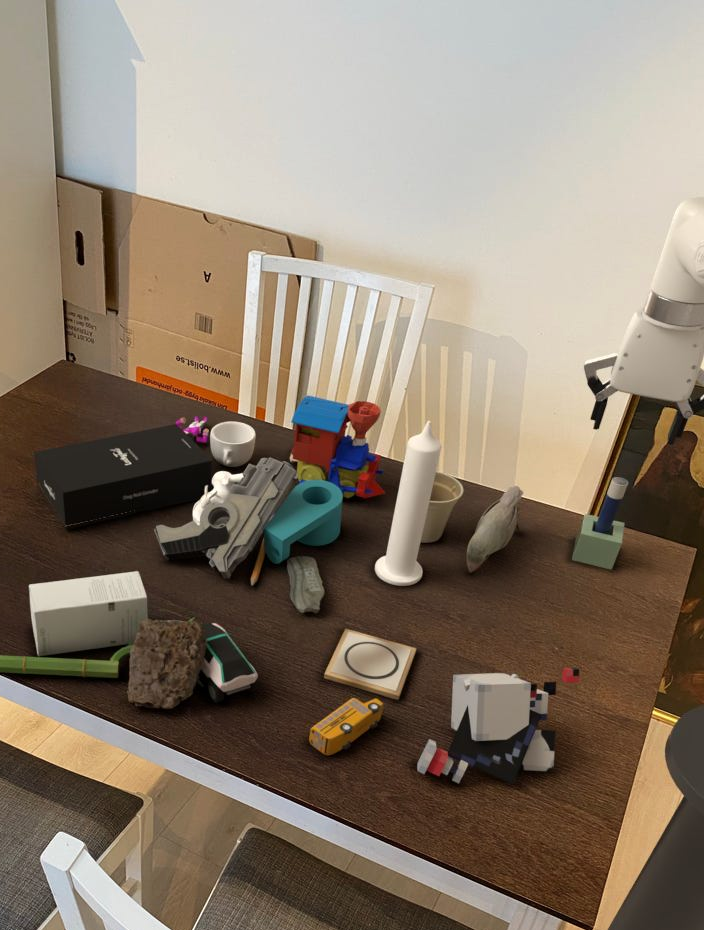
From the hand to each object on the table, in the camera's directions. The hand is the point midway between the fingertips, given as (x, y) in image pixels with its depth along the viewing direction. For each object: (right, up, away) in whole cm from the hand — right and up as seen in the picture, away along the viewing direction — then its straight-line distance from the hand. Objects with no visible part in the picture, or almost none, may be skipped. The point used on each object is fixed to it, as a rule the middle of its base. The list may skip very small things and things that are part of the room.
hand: (633, 432), depth 127 cm
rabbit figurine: (-56, -10, +20) cm, 60 cm away
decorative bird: (-14, -14, +19) cm, 28 cm away
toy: (-29, -35, -15) cm, 48 cm away
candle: (-30, -18, +13) cm, 37 cm away
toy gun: (-62, -5, +15) cm, 64 cm away
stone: (-41, -20, +8) cm, 47 cm away
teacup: (-55, +2, +34) cm, 65 cm away
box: (-72, -4, +26) cm, 77 cm away
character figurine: (-61, +7, +40) cm, 74 cm away
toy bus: (-39, -39, -14) cm, 57 cm away
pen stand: (+2, -15, +19) cm, 24 cm away
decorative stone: (-39, +5, +38) cm, 55 cm away
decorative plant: (-88, -29, -7) cm, 93 cm away
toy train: (-36, -3, +30) cm, 47 cm away
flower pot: (-24, -11, +22) cm, 34 cm away
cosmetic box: (-66, -23, -2) cm, 70 cm away
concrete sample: (-63, -31, -13) cm, 71 cm away
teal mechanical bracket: (-41, -12, +14) cm, 45 cm away
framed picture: (-36, -31, -3) cm, 48 cm away
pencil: (-48, -8, +22) cm, 53 cm away
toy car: (-56, -33, -5) cm, 65 cm away
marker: (+2, -15, +19) cm, 24 cm away
